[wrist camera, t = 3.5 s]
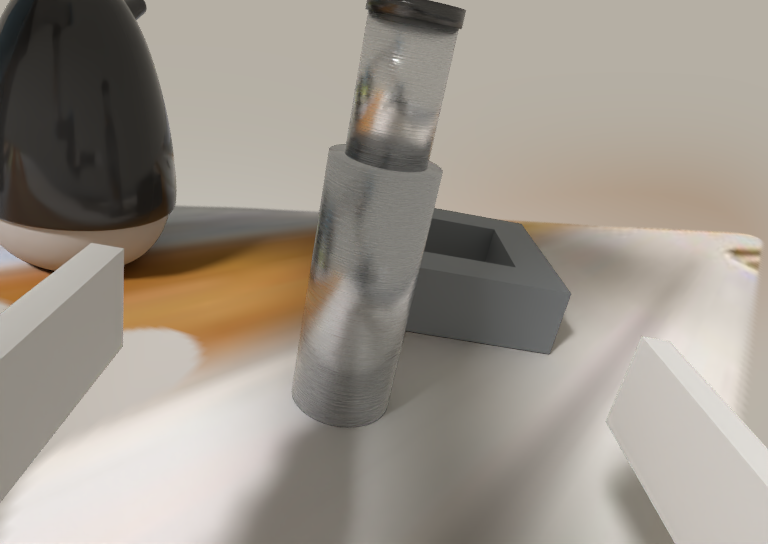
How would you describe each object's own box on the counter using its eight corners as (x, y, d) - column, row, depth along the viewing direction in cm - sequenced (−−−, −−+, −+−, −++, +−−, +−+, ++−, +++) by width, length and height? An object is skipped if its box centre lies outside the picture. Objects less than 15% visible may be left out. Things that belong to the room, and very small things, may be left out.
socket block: (347, 321, 33) (359, 257, 31) (354, 245, 44) (363, 195, 42) (549, 354, 34) (571, 293, 32) (506, 272, 45) (521, 223, 43)
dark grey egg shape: (205, 248, 38) (224, -2, 32) (99, 313, 29) (98, -24, 23) (69, 210, 39) (62, -36, 34) (-75, 261, 30) (-120, -70, 24)
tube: (285, 418, 24) (351, -18, 18) (298, 361, 28) (356, -11, 22) (388, 433, 24) (490, 12, 18) (386, 375, 28) (469, 14, 22)
